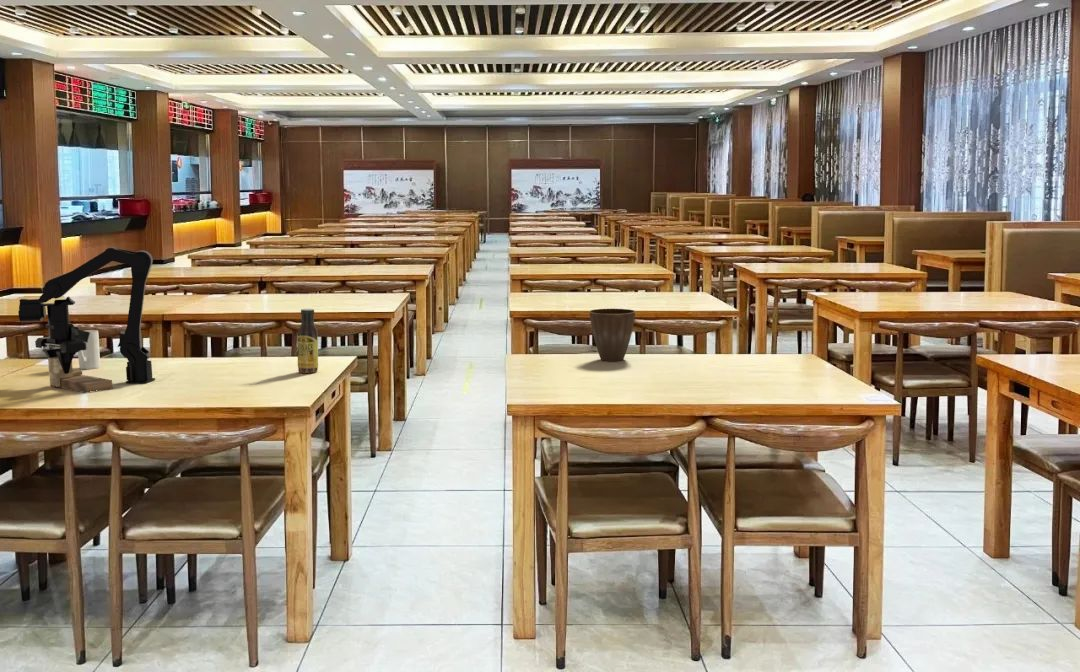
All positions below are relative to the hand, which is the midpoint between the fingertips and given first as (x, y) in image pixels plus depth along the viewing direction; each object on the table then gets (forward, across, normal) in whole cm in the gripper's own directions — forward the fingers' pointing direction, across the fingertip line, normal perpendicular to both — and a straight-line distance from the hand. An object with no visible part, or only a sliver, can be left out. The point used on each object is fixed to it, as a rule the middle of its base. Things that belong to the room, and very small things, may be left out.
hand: (62, 372), depth 322 cm
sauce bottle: (+4, -43, -57) cm, 71 cm away
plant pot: (+4, -109, -128) cm, 168 cm away
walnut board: (+4, -6, -2) cm, 7 cm away
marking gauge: (+3, 0, -1) cm, 4 cm away
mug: (+4, +24, -21) cm, 32 cm away
